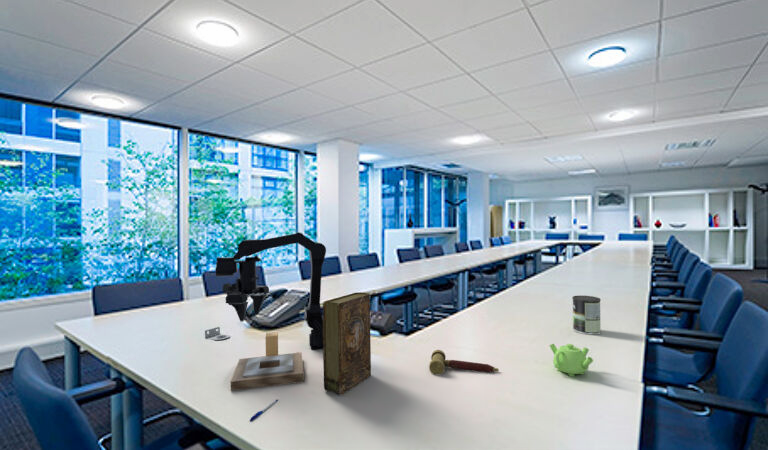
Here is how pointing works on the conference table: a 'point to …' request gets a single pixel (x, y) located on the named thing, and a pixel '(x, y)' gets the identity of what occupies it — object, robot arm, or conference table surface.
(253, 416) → the ballpoint pen
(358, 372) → the book
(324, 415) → the conference table surface
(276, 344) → the tan cardboard-colored box
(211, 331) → the bracket
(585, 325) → the coffee can
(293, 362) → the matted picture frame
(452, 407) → the conference table surface
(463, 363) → the gavel
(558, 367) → the teapot
